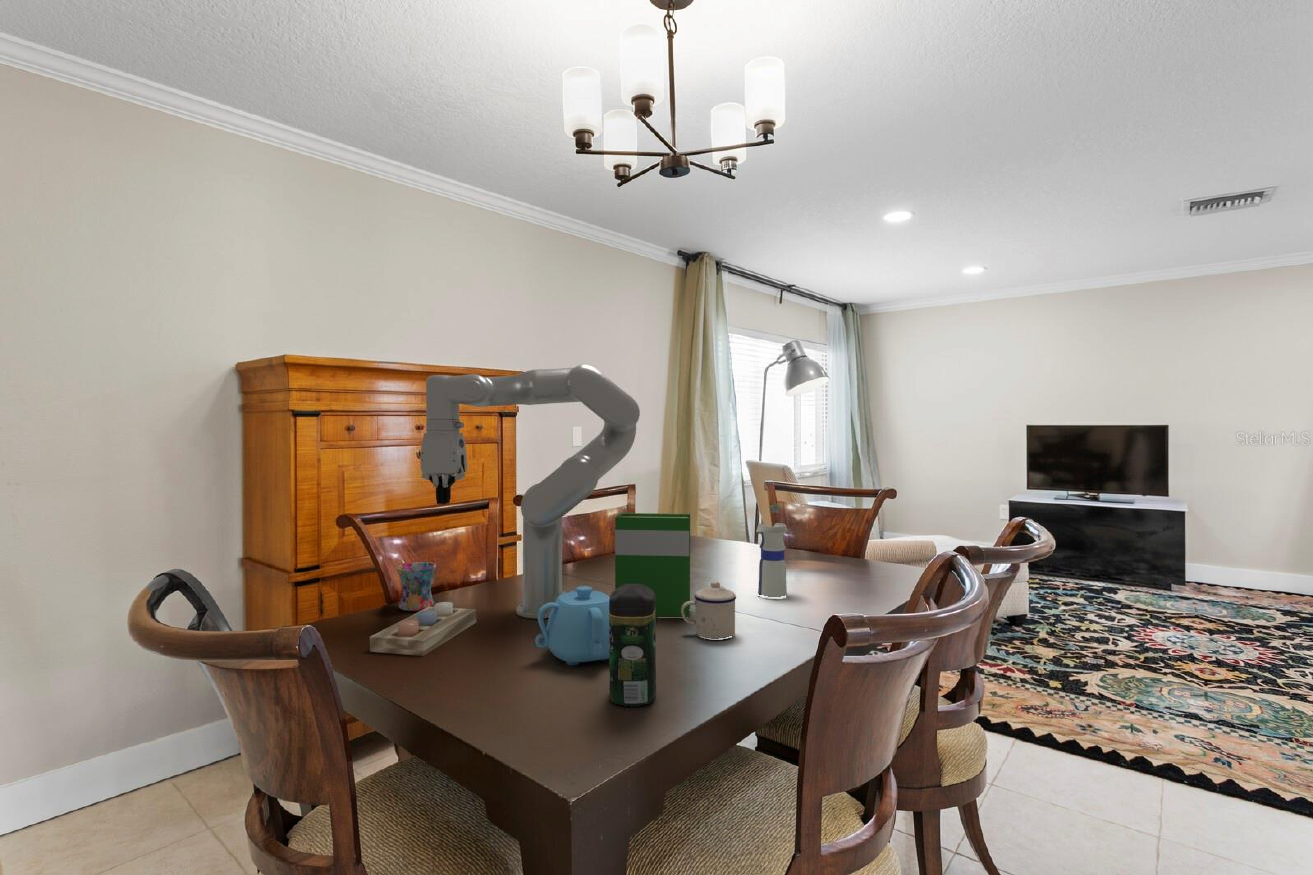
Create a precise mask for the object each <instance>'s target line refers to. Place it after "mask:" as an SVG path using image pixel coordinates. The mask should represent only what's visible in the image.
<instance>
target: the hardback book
mask: <svg viewBox="0 0 1313 875" xmlns="http://www.w3.org/2000/svg"><path fill="white" fill-rule="evenodd" d="M614 521H615V522H614V529H615V530H614V536H615V537H614V541H615V543H614V544H615V546H614V561H615V562H614V564H615V565H614V576H615V577H614V579H615V580H614V583H615V585H614V590H615V589H617V588H619V587H620V586H622V585H623V584H645V585H646V586H647V587H649V588H650V589H652V590H653V591H654V593H655V596H656V597H655V614H656V617H682V614H681V608H682V605H683V604H684V603H685V602H688V601H691V513H659V512H658V513H653V512H652V513H649V512H648V513H647V512H646V513H643V512H639V513H637V512H619V513H618V514H617V515H616V516H615V518H614ZM689 609H690V610H691V605H688V606H686V607H685V609H684V613H685V615H686V617H689V618H690V611H689Z"/></svg>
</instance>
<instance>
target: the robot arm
mask: <svg viewBox="0 0 1313 875" xmlns="http://www.w3.org/2000/svg"><path fill="white" fill-rule="evenodd" d="M425 382H426V383H425V407H426V410H425V415H426V416H425V418H426V420H425V421H426V422H425V427H426V429H425V430H426V432H423V436H422V441H421V449H420V460H419V461H420V471H421V478H422V479H423V480H424V479H425V480H428V481H430V482H431V484H433V487H434V488H435V500H436V504H437V505H447V504H450V501H451V498H452V494H451V493H452V492H451V491H452V489H451V487H453V485H454V484H455V483H456V482H457V481H459V480H464V479H465V477H466V476H465V475H466V474H465V473H466V472H467V470H468V460H467V459H468V458H467V448H466V442H465V437H464V433H463V432H460V431H461V429H463V428H464V427H465V423H464V422H463V421H462V422H461V419H460V405H463V406H464V405H466V406H470V407H475V408H485V407H486V408H487V407H499V406H513V405H514V406H515V405H519V406H520V405H525V406H526V405H527V406H533V405H548V404H563V403H565V404H566V403H582V404H583V405H584V406H585V407H586V408H588V409H589V410H590V411H592V413H594V414H595V415H597V417H599V418H600V419H601V420H603V422H604V424H603V428H602V430H601V432H600V433H599V434H598V435H597V436H596V437H595V438H593V439H592V440H591V441H590V442H589V443H587V444H586V445H585V446H584V447H582V448H581V449H580V450H579V451H577V452H576V453H575V454H573V455H572V456H571V457H570V456H569V457H568V458H567V459H566V460H564V461H563V462H562V463H561V465H560V466H559V467H558V468H556V469H555V470H554V471H553V472H551V473H550V474H549V475H548V476H547V477H544V479H542V480H541V481H540V482H539V483H535V484H533V485H531V486H530V487H529V488H528V489H527V490H526V492H525V493H524V495H523V497H522V499H521V503H520V511H521V512H520V513H521V516H522V603H521V604H519V605H518V606H517V607H516V615H518V616H520V617H523V618H528V619H537V620H538V611H539V609H540V608H541V607H542V606H543V605H545V604H547V603H550V602H556V600H557V598H558V597H559V596H560V595H561V594H564V593H567V591H565V590H563V517H565V516H566V515H567V514H568V513H569V512H570V511H572V510H573V509H574V508H576V507H577V506H578V505H579V504H581V503H582V502H583V501H585V500H586V499H587V498H588V497H590V495H591V494H592V493H593V492H594V491H595V489H596V487H597V486H598V482H599V480H600V479H601V478H602V477H604V476H605V475H606V474H608V472H610V471H611V470H612V469H613V468H614V467H615V466H616V465H618V463H620V462H621V461H622V460H623V459H624V458H625V457H626V456H627V455H628V454H629V452H630V450H631V448H632V447H633V444H634V443H635V439H636V434H637V423H638V422H639V420H640V415H641V413H640V411H641V410H640V405H638V403H637V401H636V400H635V399H634V398H633V397H632V396H631V395H629V394H628V393H627V392H626V391H624V390H623V388H621V387H619V385H617V384H616V383H615V382H613V381H612V380H611V379H610V378H608V377H607V376H606V375H605V374H604V373H602V372H601V371H600V370H599V369H597V368H596V367H595V366H594V365H593V366H592V365H590V364H579V365H577V366H575V367H564V368H563V367H562V368H560V367H559V368H545V369H543V368H542V369H541V368H539V369H531V370H527V371H526V370H525V371H524V372H522V373H518V374H511V375H502V376H499V375H498V376H482V375H479V374H477V373H475V374H474V373H472V374H464V375H455V376H453V375H448V374H444V375H443V374H435V375H434V374H433V375H429V376H428V377H427V378H426V381H425ZM552 609H553V608H549V609H547V610H546V611H545V612H544V613H543V619H549V616H550V613H551V611H552Z"/></svg>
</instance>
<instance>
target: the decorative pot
mask: <svg viewBox="0 0 1313 875" xmlns="http://www.w3.org/2000/svg"><path fill="white" fill-rule="evenodd" d="M609 599H610V595H608V594H606V593H604V592H602V591H598V590H593V587H591V586H588V585H581V586H577V587H575V589H574V590H570V591H569V592H566V593H564V594H561V595H560V596H559V597H558V598H557V600H556V602H550V603H547V604H545V605H543V606H542V607H541V608H540V609H539V611H538V619H537V622H538V625H539V627H540V630H541V633H539V634H538V635H536V637H535V640H534V642H535V645H536V647H537V648H540V649H545V648H548V649H549V651H550V652H551V654H552V655H553V656H554V657H556V658H557V659H559V660H561V661H564V662H565V664H566V665H568V666H577V665H579V664H580V663H586V662H593V661H594V662H595V661H607V660H606V659H609ZM549 608H553V609H552V611H551V613H550V616H549V618H547V624H546V625H545V621H544V618H543V613H544V612H545V611H546V610H547V609H549ZM541 638H543V639H544V640H543V641H540V639H541Z"/></svg>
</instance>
